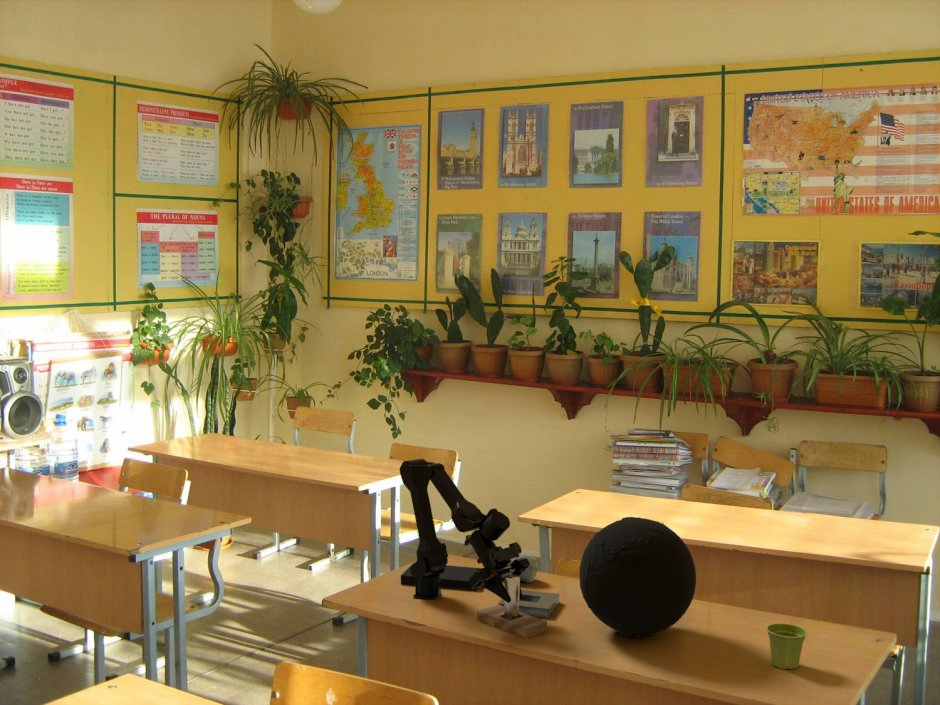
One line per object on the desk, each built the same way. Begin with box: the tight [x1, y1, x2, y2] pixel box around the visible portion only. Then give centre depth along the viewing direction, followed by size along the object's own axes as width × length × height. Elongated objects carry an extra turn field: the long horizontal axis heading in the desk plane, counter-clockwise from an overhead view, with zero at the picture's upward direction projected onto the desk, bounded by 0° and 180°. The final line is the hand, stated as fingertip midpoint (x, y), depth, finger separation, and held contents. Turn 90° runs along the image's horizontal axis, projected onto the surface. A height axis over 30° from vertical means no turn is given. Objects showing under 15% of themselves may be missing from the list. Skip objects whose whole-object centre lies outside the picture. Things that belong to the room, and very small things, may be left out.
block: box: [497, 589, 560, 619], centre depth 285 cm, size 14×14×2 cm
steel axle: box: [503, 575, 521, 620], centre depth 270 cm, size 4×4×13 cm
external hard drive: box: [400, 562, 484, 591], centre depth 309 cm, size 14×23×3 cm, turn 77°
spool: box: [501, 553, 539, 584], centre depth 311 cm, size 14×10×10 cm
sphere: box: [578, 516, 697, 638], centre depth 265 cm, size 30×30×30 cm
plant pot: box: [766, 622, 808, 670], centre depth 245 cm, size 9×9×9 cm
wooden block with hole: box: [475, 604, 548, 639], centre depth 270 cm, size 18×8×2 cm, turn 44°
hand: (515, 600), depth 269 cm, fingers closed on steel axle, 4 cm apart
